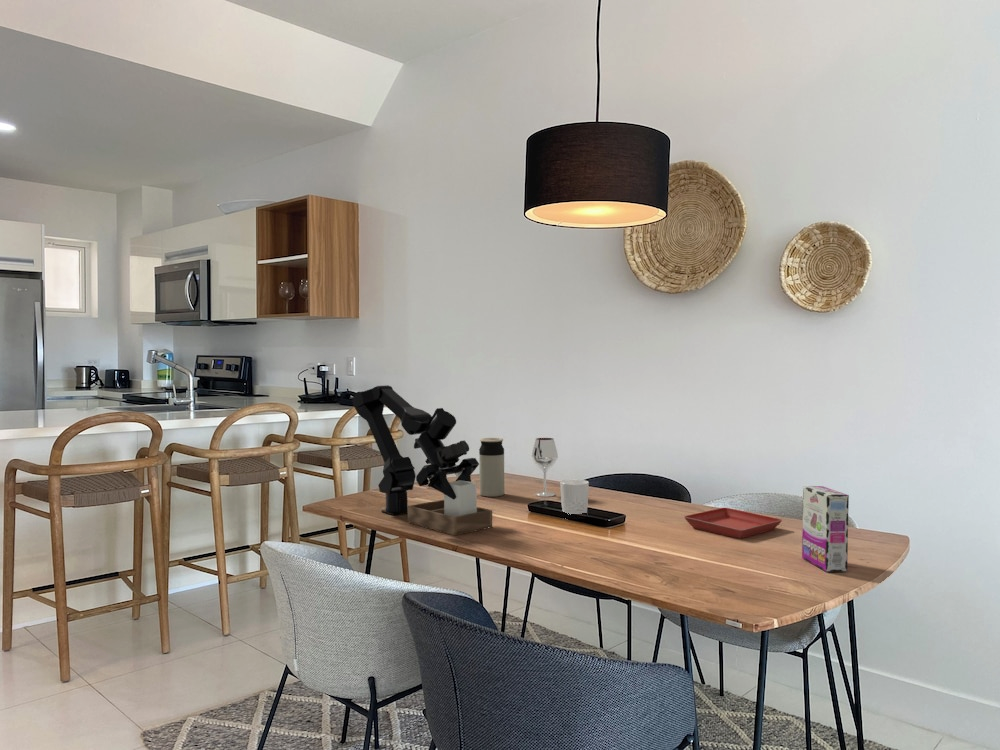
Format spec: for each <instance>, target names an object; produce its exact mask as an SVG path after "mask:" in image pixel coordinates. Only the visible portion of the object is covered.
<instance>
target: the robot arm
mask: <svg viewBox="0 0 1000 750" xmlns="http://www.w3.org/2000/svg"><path fill="white" fill-rule="evenodd" d="M352 405H353V407H354V409H355V411H356V413H357V414H358V415H359V416H360V417H361V418H362V419H363V420H365V421H366V422H367V424H368V426H369V429H370V432H371V434H372V436H373V438H374V441H375V444H376V445H377V448H378V450H379V452H380V455H381V457H382V459H383V462H384V465H383V467H382V468H383V469H382V473H383V474H382V475H383V477H382V479H381V480H380V482H378V489H379V490H378V491H379V493H382V494H385V509H381V512H382V513H384V514H388V515H392V516H397V515H401V514H406V513H407V514H408V506H409V505H408V491H413V489H414V486H415V481H416V482H417V484H418V486H419V487H425V486H428V488H433V489H434V490H436V491H438V492H440V493H442V494H443V495H444V494H445V495H447V496H448V497H450V498H452V499H453V500H454V499H455V498H456V495H455V493H454V491H453V489H452V487H451V485H450V484H449V482H450V481H449V480H448V477H447V476H448V475H456V480H455V481H459V480H462V481H468V482H472V479H471V478H472V477H471V475H472V474H473V473H474V472H475V470H476V469H477V468H478V467H479V460H477V458H476V457H469V458H463V459H462V460H461V462H460V457H462V456H466V455H468V452H469V451H470V447H469V444H468V443H467V442H466V440H460V441H458V442H456V443H452V444H449V445H445V444H444V443H443V442H442V441H443V440H445V439H447V437H448V436H449V434H450V433H451V432H452V430H453V428H454V427H455V426H456V424H457V418H456V417H455V416H454V415H453V414H452V413H450V412H448V411H446V410H445V409H444V408H443V407H440V408H436V409H435V411H434V413H433V414H432V415H431V414H430V413H429V412H427V411H425V410H423V409H420V408H418V407H414V406H412V405H411V404H410V403H409V402H408V401H407V400H405V399H404V398H403V397H402V396H401V395H399V393H397V392H396V391H395V390H394V389H393V387H392V386H391V385H389V384H388V385H387V384H386V385H385V384H384V385H376V386H374V387H372V388H369V389H367V390H364V391H363V390H362V391H357V392H356V393H355V394H354V395H353V398H352ZM384 407H386V408H387V409H388V410H389V411H391V412H392V413H393V414H394V415H395V416H396V417H397V418H398V419H399V420H400V423H401V427H402V428H403V429H404V431H405V433H407V434H408V435H410V436H413V435H419V436H418V438H415V439H414V444H413V448H414V449H421V451H422V452H423V454H424V455H425V457H426V459H425V463H426V464H425V465H423V466H422V468H421V469H420V471H419V472H418V473H417V474H416V472H415V467H414V465H413V464H412V461H411V458H410V457H409V456H402V455H401V453H400V451H399V449H398V447H397V443H396V442H395V440H394V436H393V435H392V433H391V431H390V427H389V426H388V424H387V423H388V422H387V421H386V418H385V417H384V414H383V413H384ZM459 462H460V463H459ZM456 463H459V464H456Z"/></svg>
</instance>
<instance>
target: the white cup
mask: <svg viewBox="0 0 1000 750" xmlns="http://www.w3.org/2000/svg"><path fill="white" fill-rule="evenodd" d="M589 483H590V482H589V481H588V480H586V479H585V480H584V479H576V478H575V479H564V480H561V481H560V483H559V485H560V486H559V487H560V501H561V508H562V509H561V510H562V511H563V512H565V513H567V514H568V513H569V514H570V515H571V514H582V513H587V514H588V506H589V505H588V504H589V485H590V484H589ZM569 514H568V515H569ZM565 520H567V519H566V518H565Z"/></svg>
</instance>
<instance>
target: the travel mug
mask: <svg viewBox="0 0 1000 750" xmlns="http://www.w3.org/2000/svg"><path fill="white" fill-rule="evenodd" d="M479 441H480V444H481V445H480V447H479V449H478V450H479V453H478V454H479V455H478V456H479V460H478V463H479V465H478V467H479V468H478V470H479V473H478V475H479V476H478V477H479V478H478V479H479V495H480V496H482V497H485V496H486V498H490V497H491V498H495V497H496V498H497V497H502V496H504V495H505V448H504V446H503V441H504V438H501V437H482V438H480V439H479Z"/></svg>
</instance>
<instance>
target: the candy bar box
mask: <svg viewBox="0 0 1000 750" xmlns="http://www.w3.org/2000/svg"><path fill="white" fill-rule="evenodd" d="M802 492H803V493H802V536H801V537H802V539H801V540H802V541H801V544H802V545H801V546H802V547H801V555H802V556H801V558H802V559H803V560H805V562H808V563H810V564H811V565H813V566H815V567H817V568H819V569H820V570H822V571H824V572H826V573H845V572H848V556H849V555H848V550H849V548H848V547H849V546H848V545H849V544H848V543H849V507H850V506H849V505H850V504H849V503H850V502H849V499H850V498H849V497H850V496H849V494H846V493H843V492H841V491H839V490H838V491H837V490H835V489H833V488H832V489H831V488H829V487H827V486H824V485H823V486H822V485H821V486H820V485H818V486H817V485H816V486H815V485H809V486H803V487H802Z"/></svg>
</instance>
